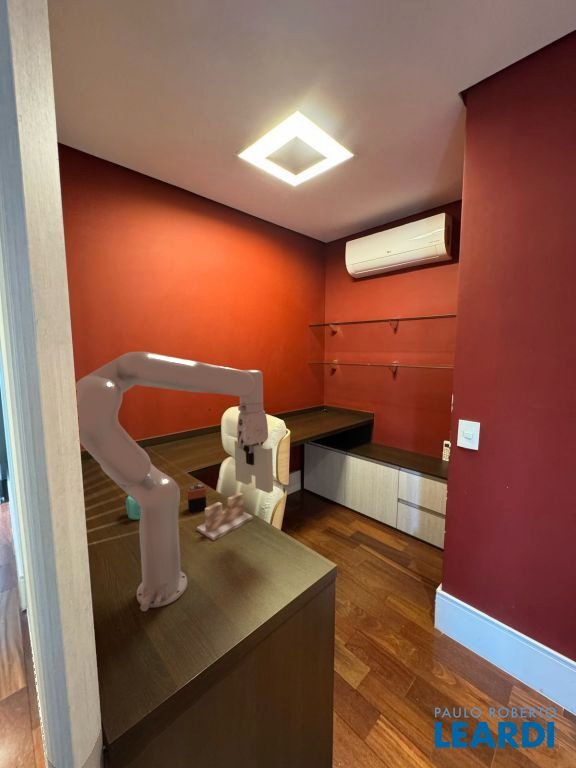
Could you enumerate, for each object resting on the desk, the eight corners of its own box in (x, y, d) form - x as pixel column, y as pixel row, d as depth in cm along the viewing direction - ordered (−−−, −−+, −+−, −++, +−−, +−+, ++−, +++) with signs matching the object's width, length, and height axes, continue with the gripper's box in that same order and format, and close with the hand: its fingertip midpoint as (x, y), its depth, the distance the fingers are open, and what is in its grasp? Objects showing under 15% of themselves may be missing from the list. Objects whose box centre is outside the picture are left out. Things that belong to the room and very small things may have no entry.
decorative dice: (126, 514, 124) (125, 495, 123) (147, 507, 129) (146, 489, 128) (131, 522, 118) (130, 502, 117) (153, 515, 123) (152, 495, 122)
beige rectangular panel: (268, 493, 97) (267, 449, 96) (235, 480, 107) (234, 440, 106) (273, 490, 98) (272, 447, 97) (240, 478, 109) (239, 439, 108)
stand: (213, 540, 105) (212, 514, 104) (196, 530, 111) (195, 505, 111) (252, 519, 119) (252, 495, 118) (235, 510, 125) (235, 488, 124)
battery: (206, 509, 126) (205, 486, 125) (189, 513, 124) (188, 489, 123) (205, 505, 130) (204, 482, 129) (188, 508, 128) (187, 485, 127)
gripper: (240, 412, 92) (242, 472, 94) (276, 405, 104) (277, 459, 106) (224, 410, 97) (226, 467, 99) (261, 403, 109) (262, 454, 111)
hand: (252, 462), depth 102 cm, fingers closed on beige rectangular panel, 2 cm apart
